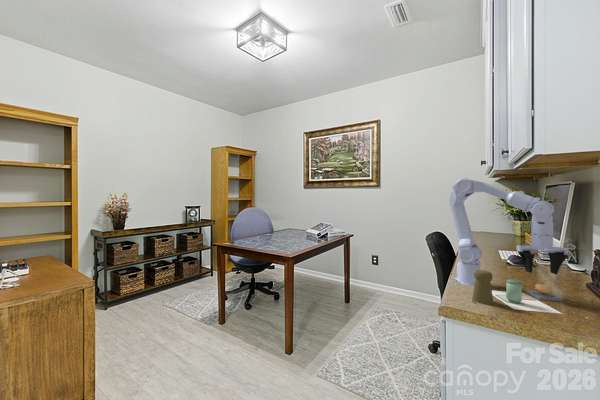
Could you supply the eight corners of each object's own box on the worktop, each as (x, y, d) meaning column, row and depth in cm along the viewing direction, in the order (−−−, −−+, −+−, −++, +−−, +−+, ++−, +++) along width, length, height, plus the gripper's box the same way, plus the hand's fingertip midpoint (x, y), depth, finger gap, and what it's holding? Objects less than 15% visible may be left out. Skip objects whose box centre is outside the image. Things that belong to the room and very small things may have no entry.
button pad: (525, 294, 95) (525, 289, 95) (547, 295, 94) (547, 290, 94) (539, 301, 88) (539, 295, 88) (563, 303, 87) (563, 297, 87)
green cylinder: (503, 299, 88) (503, 278, 88) (516, 300, 87) (516, 279, 87) (511, 303, 84) (511, 282, 84) (525, 304, 83) (525, 283, 83)
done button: (532, 288, 94) (532, 283, 94) (546, 289, 93) (546, 284, 93) (540, 292, 89) (541, 287, 89) (555, 293, 89) (555, 288, 89)
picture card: (484, 291, 98) (484, 289, 98) (523, 294, 95) (523, 292, 95) (513, 310, 80) (513, 308, 80) (562, 315, 77) (562, 313, 77)
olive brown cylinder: (484, 307, 82) (484, 273, 82) (467, 300, 88) (468, 268, 88) (498, 305, 84) (498, 272, 84) (480, 298, 90) (481, 267, 90)
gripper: (525, 235, 88) (525, 274, 88) (575, 237, 85) (575, 277, 85) (513, 232, 95) (512, 268, 95) (559, 234, 92) (558, 271, 92)
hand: (541, 272), depth 91 cm, fingers open, 7 cm apart
